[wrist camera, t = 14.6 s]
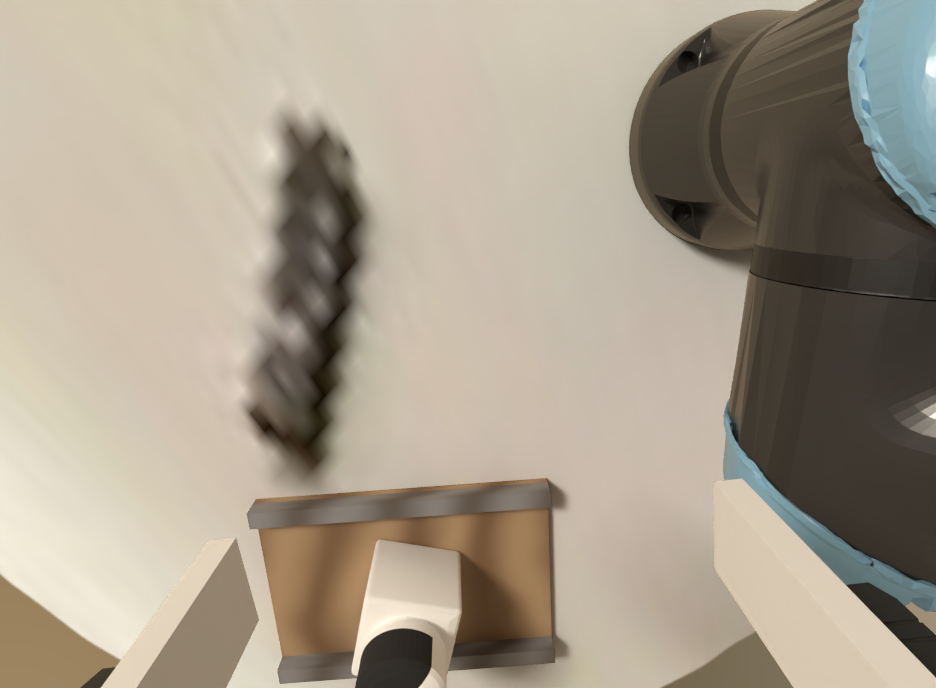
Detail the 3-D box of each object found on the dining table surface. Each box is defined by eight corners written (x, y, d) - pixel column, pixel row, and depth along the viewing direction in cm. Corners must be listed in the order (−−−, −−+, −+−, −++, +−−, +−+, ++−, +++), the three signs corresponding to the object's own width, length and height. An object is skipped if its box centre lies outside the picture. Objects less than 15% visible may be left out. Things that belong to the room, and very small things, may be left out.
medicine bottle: (364, 607, 47) (336, 740, 36) (377, 536, 46) (352, 653, 34) (445, 618, 48) (443, 753, 37) (461, 549, 46) (464, 668, 35)
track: (546, 478, 45) (550, 491, 43) (550, 643, 50) (555, 662, 48) (256, 499, 45) (246, 513, 43) (286, 663, 50) (279, 683, 48)
